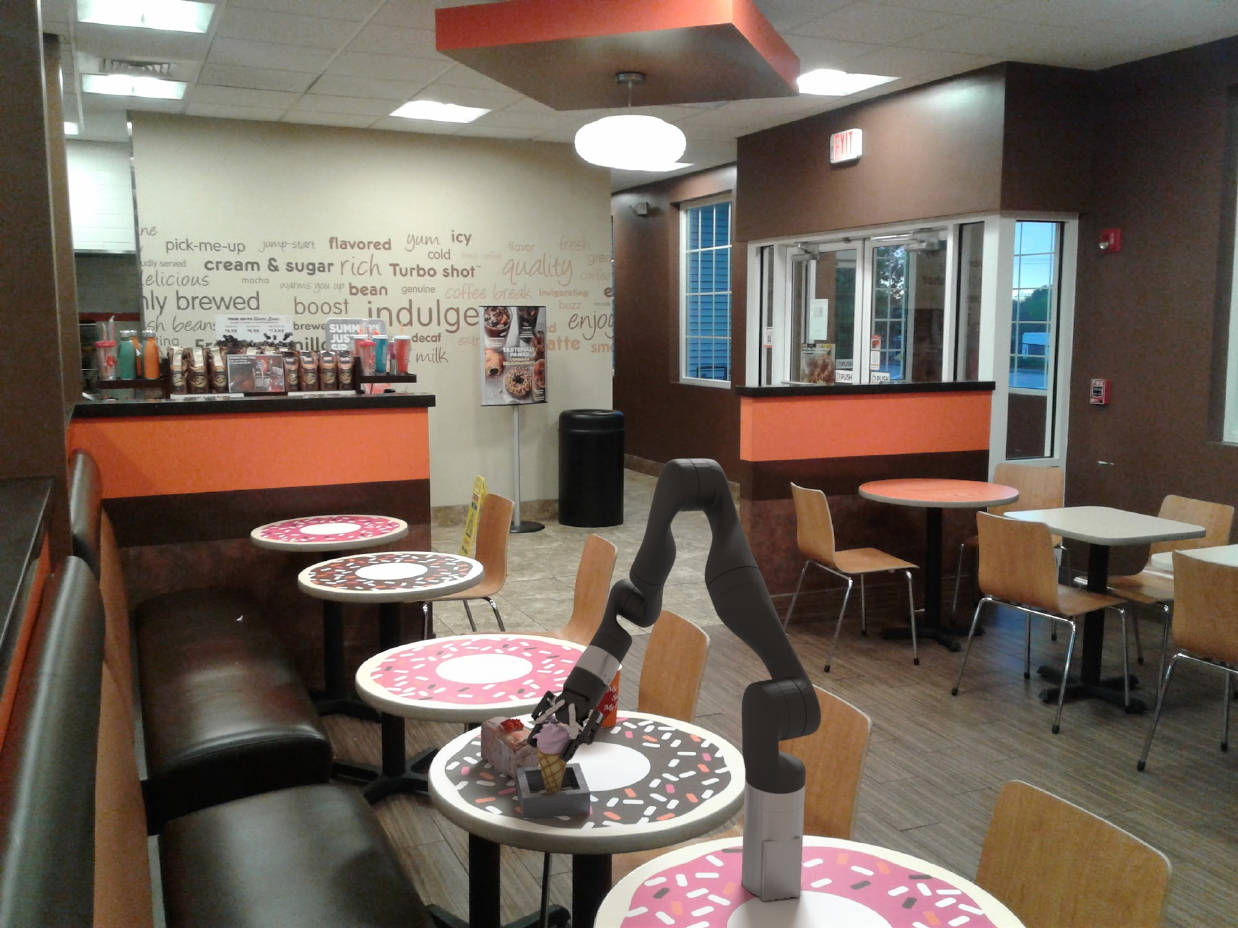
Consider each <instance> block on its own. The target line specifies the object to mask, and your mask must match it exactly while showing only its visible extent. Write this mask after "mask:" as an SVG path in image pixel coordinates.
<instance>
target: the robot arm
mask: <svg viewBox="0 0 1238 928" xmlns="http://www.w3.org/2000/svg"><path fill="white" fill-rule="evenodd" d="M679 512H681V513H682V512H703V513H704V514H705V516H706V517H707V520H708V523H709V526H710V531H711V536H712V537H711V544H710V547H709V551H708V555H707V559H706V564H705V567H704V583H705V587H706V591H707V592H708V595H709V597H710V600H711V603H712V605H713V608H714V611H715V613H716V615H717V617H718V618H719V619H720V622H722V623H723V625H725V626H726V627H727V629H728V630H730V631H731V632H732V633H733V634H734V635H735V636H736V637H738V638H739V640H741V641H742V642H743V643H744V644H745V645H747V646H748V647H749V648H750V649H751V650H752V651H753V652H754V653H755V654H756V655H757V656H758V657H759V659H760V660H761V662H762V663H763V664H764V666H765V667H766V670H767V672H768V674H769V675H770V677H771V678H770V679H765V680H759V681H755V682H751V683H749V684H748V685H747V687H746V688H745V689H744V692H743V695H742V700H741V738H742V740H741V744H742V745H741V746H742V748H741V750H742V759H743V764H744V772H745V773H744V798H743V823H742V825H743V827H742V828H743V829H742V851H741V852H742V854H741V855H742V856H741V857H742V858H741V859H742V861H741V862H742V863H741V884H742V887H744V888H745V890H747V891H748V892H749V893H751V894H752V895H754V894H755V895H754V896H757V897H759V898H760V900H761V899H762V900H761V901H763V902H769V901H776V900H775V899H778V900H785V899H784V898H787V899H791V898H790V897H796V898H800V897H801V887H802V869H803V868H802V867H803V864H802V863H803V845H804V844H803V842H804V841H803V840H804V823H805V822H804V819H805V802H806V801H805V798H806V774H807V772H806V771H807V770H806V766H805V764H804V762H803V760H801V759H800V758H798V757H796V756H795V755H793V754H791V753H788V752H785V751H781V750H780V744H779V743H780V742H782V741H783V742H784V741H788V740H792V739H798V738H802V737H806V736H811V735H813V734H815V733H816V732H817V731H818V729H819V728H820V725H821V722H822V721H821V719H822V710H821V706H820V702H819V701H820V700H819V698H818V695H817V692H816V690H815V688H814V685H813V683H812V681H811V679H810V677H809V676H808V673H807V672H806V670H805V668H804V666H803V664H802V662H801V660H800V659H799V656H798V655H797V653H796V651H795V649H794V647H793V645H792V643H791V642H790V639H789V638H788V635H787V633H786V631H785V628H784V626H783V624H782V622H781V620H780V618H779V615H778V613H777V611H776V608H775V606H774V603H773V600H772V598H771V594H770V592H769V589H768V587H767V584H766V582H765V580H764V576H763V575H762V572H761V570H760V569H759V566H758V563H757V562H756V560H755V557H754V555H753V553H752V549H751V547H750V545H749V542H748V540H747V537H746V535H745V532H744V529H743V526H742V524H741V521H740V518H739V514H738V511H737V508H736V504H735V501H734V497H733V494H732V490H731V487H730V484H729V481H728V478H727V475H726V473H725V471H724V469H723V468H722V466H721V465H720V463H719V462H717V461H716V460H715V459H711V458H675V459H671V460H669V461H667V462H665V463H664V465H663V467H662V468H661V470H660V472H659V475H658V478H657V481H656V485H655V489H654V493H653V497H652V501H651V504H650V509H649V514H648V518H647V519H648V520H647V524H646V528H645V531H644V536H643V540H642V541H641V544H640V546H639V550H638V551H637V553H636V555H635V558H634V560H633V562H632V564H631V566H630V569H629V571H628V573H629V575H628V576H629V579H628V578H622V579H619V580H617V581H616V582H615V583H614V584H613V586H612V587H611V588H610V591H609V595H608V598H607V602H606V607H605V611H604V613H603V617H602V620H601V621H600V624H599V627H598V629H597V630H596V632H595V633H594V635H593V637H592V638H591V640H590V642H589V643H588V646H587V647H586V648H585V649H584V650H583V652H582V653H581V655H580V656H579V658H578V659H577V660H576V663H574V666H573V668H572V669H571V671H570V673H569V674H568V675H567V678H566V680H565V681H564V683H563V684H562V692H561V693H560V694H559V695H556V694H554V693H553V692H552V691H551V690H547V691H546V692H545V693H544V695H543V696H542V698H541V699H540V700H539V702H538V704H537V705H536V707H535V708H534V710H533V711H532V713H531V714H530V717H531V718H532V720H533V721H534V722H535V725H534V726H533V727H532V730H531V733H530V735H529V736H528V739H527V743H528V744H529V745H530V746H531V747H534V748H536V747H537V741H538V740H537V738H533V736H534V735H535V734H538V733H541V731H540V730H541V729H543V725H544V724H557V725H558V724H562V725H566V726H568V727H569V728H570V739H568V741H567V743H566V745H565V746H564V748H563V750H562V751H561V753H560V755H559V758H560V759H562V760H563V761H564V762H566V763H567V764H568V763H569V761H571V760H572V759H573V758H574V755H575V754H576V752H577V751H578V749H579V747H580V746H582V745H588V746H590V745H593V742H594V740H595V738H596V737H597V734H598V733H599V730H600V729H601V728H600V726H601V724H602V723H603V721H604V718H605V717H604V715H603V714H602V713H601V712H600V711H599V710H598V709H594V708H595V707H597V706H598V705H599V703H600V701H601V700H602V698H603V696H604V694H605V693H606V691H607V689H608V687H609V686H610V684H611V682H612V680H613V679H614V677H615V675H616V673H617V670H618V668H619V666H620V664H621V665H622V663H623V660H624V659H625V657H626V655H627V653H628V651H629V650H630V648H631V646H632V643H633V638H632V636H631V634H630V633H629V632H628V631H627V630H626V629H625V628H624V627H623V626H622V625H621V624H620V623H619V622H618V618H617V617H618V616H620V617H621V618H622V619H625V620H626V621H629V622H630V623H632V624H634V625H635V626H636V627H639V628H643V629H644V628H645V629H646V628H650V627H652V626H653V625H654V624H655V623H656V622H657V621H658V620H659V618H660V615H661V612H662V607H663V598H664V597H663V596H664V595H663V593H664V586H665V584H666V582H667V579H668V577H669V575H670V574H671V571H672V569H673V566H674V564H675V562H676V556H677V546H676V542H675V537H674V535H673V531H672V527H671V526H672V522H673V521H674V519H675V517H676V515H677V514H678V513H679ZM593 709H594V710H593ZM586 720H587V721H586ZM585 721H586V723H585ZM768 900H769V901H768Z"/></svg>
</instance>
